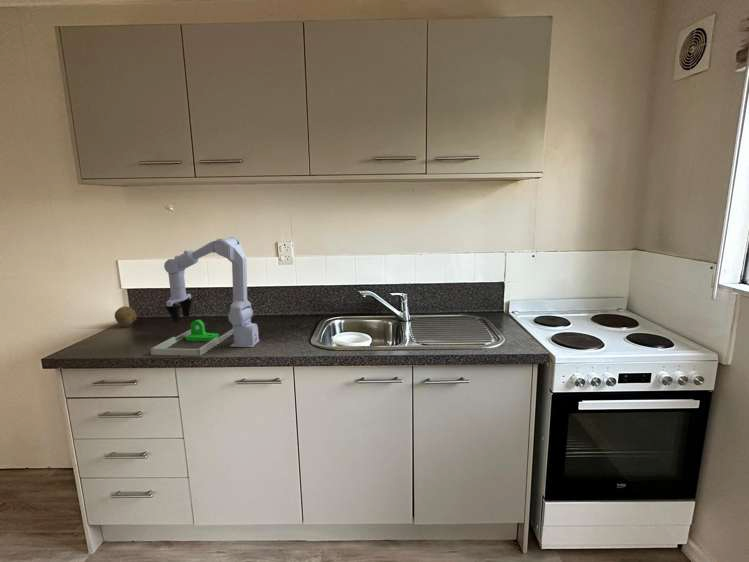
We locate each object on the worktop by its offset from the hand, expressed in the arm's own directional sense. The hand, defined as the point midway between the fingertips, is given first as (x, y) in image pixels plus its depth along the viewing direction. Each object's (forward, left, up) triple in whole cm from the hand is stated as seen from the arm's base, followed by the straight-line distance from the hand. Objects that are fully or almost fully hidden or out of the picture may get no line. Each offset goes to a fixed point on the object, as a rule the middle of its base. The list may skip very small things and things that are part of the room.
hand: (181, 318), depth 169 cm
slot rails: (-6, -8, -10) cm, 15 cm away
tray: (-6, +9, -10) cm, 15 cm away
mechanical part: (-6, -4, -10) cm, 13 cm away
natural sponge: (+42, -20, -10) cm, 47 cm away
